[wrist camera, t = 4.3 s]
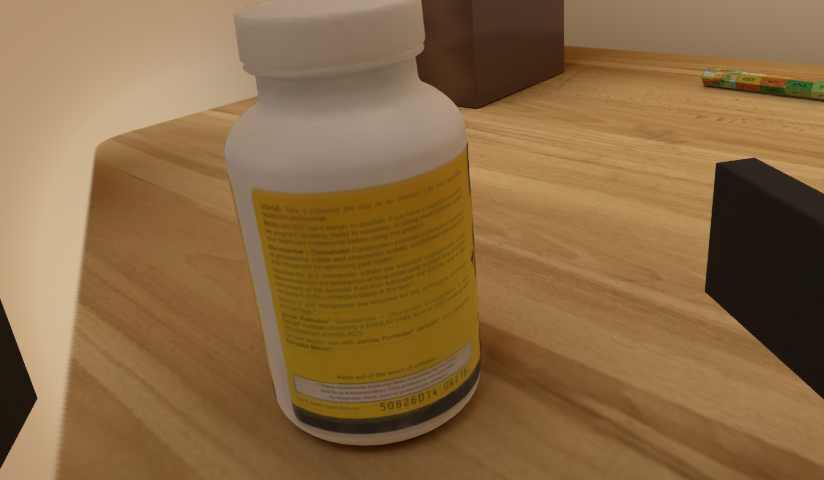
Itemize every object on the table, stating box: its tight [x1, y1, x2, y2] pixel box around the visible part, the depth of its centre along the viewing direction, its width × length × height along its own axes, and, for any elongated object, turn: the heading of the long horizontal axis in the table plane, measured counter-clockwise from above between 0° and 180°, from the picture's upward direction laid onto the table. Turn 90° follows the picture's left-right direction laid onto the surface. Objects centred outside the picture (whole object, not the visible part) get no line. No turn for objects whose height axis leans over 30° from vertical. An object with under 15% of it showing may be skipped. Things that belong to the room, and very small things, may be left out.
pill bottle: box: [225, 0, 481, 445], centre depth 20 cm, size 6×6×12 cm
